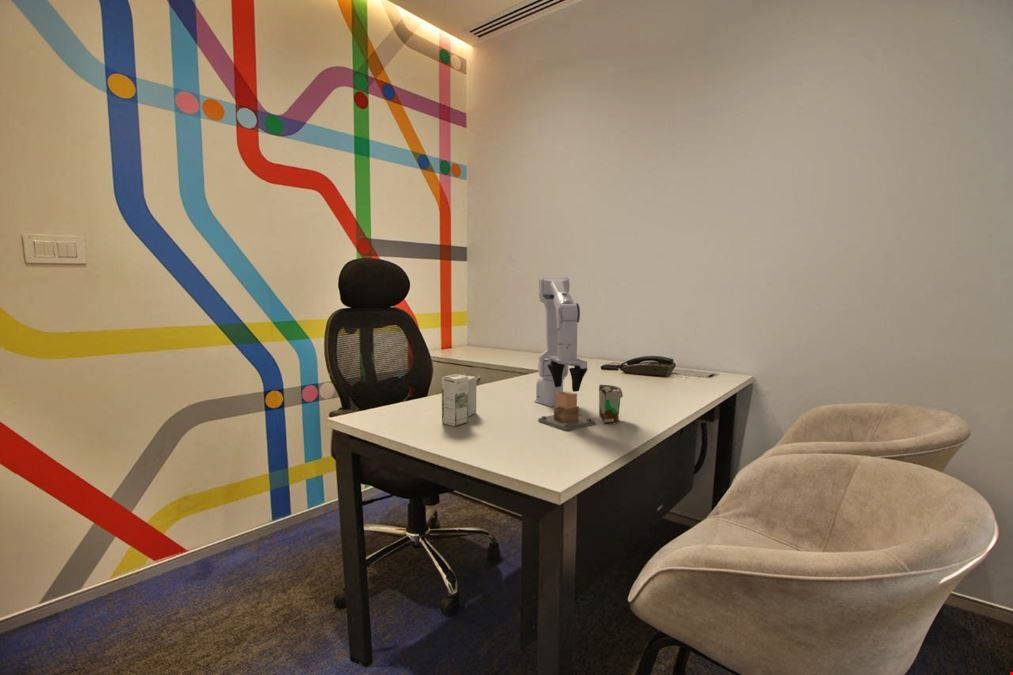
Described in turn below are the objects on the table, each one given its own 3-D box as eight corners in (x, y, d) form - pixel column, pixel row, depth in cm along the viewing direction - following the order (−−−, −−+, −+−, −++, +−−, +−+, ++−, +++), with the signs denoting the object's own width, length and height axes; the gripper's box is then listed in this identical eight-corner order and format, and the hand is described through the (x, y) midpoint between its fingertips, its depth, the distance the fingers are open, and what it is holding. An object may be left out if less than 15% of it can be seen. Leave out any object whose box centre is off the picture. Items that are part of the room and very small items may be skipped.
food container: (626, 426, 144) (627, 393, 143) (605, 426, 144) (606, 392, 143) (617, 414, 156) (618, 384, 155) (598, 414, 156) (599, 384, 155)
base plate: (538, 421, 148) (538, 416, 148) (566, 415, 156) (566, 410, 156) (566, 431, 139) (566, 425, 139) (594, 423, 146) (594, 418, 146)
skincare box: (465, 411, 160) (464, 375, 159) (477, 413, 158) (477, 376, 157) (455, 416, 155) (455, 378, 153) (468, 417, 153) (467, 379, 151)
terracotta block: (556, 406, 147) (556, 393, 147) (566, 403, 150) (566, 391, 150) (566, 409, 144) (566, 395, 143) (576, 406, 146) (576, 393, 146)
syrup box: (455, 419, 151) (454, 373, 149) (468, 422, 147) (468, 375, 146) (441, 423, 146) (440, 376, 145) (455, 427, 143) (454, 378, 141)
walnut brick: (553, 419, 147) (554, 406, 147) (568, 416, 151) (568, 403, 150) (564, 422, 144) (564, 409, 143) (578, 419, 147) (578, 406, 147)
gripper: (541, 342, 148) (540, 386, 150) (575, 347, 137) (574, 395, 138) (558, 341, 152) (557, 383, 154) (592, 345, 141) (591, 391, 142)
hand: (566, 388), depth 146 cm, fingers open, 7 cm apart
